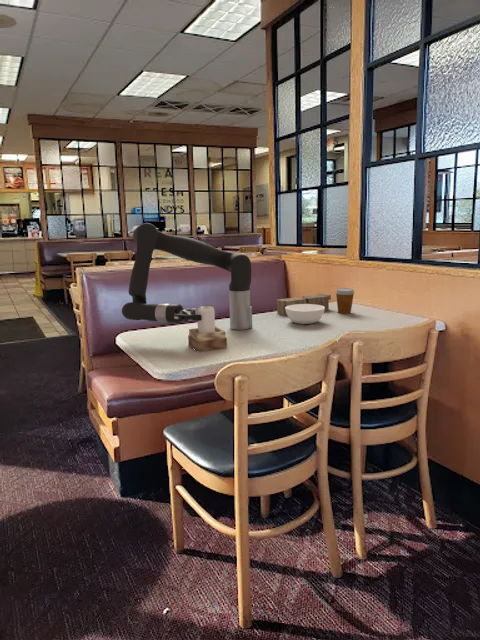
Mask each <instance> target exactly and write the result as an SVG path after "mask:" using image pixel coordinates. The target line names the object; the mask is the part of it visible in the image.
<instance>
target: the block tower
mask: <svg viewBox="0 0 480 640" xmlns="http://www.w3.org/2000/svg"><path fill="white" fill-rule="evenodd" d="M331 300H332V296H331V294H326V293H318V294H311V295H304V296H302V297H300V296H296V297H289V298H281V299H279V298H278V299H276V311H277V313H276V314H277V315H280V316H288V315H287V314H286V310H285V307H286V306H289V305H295V304H315V305H321V306H324V307H325V309H324V311H328V310H329V307H330V306H329V305H330V304H329V301H331Z"/></svg>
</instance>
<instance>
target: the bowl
mask: <svg viewBox="0 0 480 640" xmlns="http://www.w3.org/2000/svg"><path fill="white" fill-rule="evenodd" d="M324 309H325V307H324V306H321V305H315V304H295V305H289V306H286V307H285V310H286V314H287V315H286V316H287V318H288V319H289V320H290V322H292V323H294V324H297V325H298V324H299V325H310V324H311V325H312V324H314V323H317V322H319V321H320V320H321V319H322V317H323V315H324V313H325V310H324Z"/></svg>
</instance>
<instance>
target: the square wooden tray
mask: <svg viewBox="0 0 480 640" xmlns="http://www.w3.org/2000/svg"><path fill="white" fill-rule="evenodd" d="M188 333H189V335H190V336H191V337H192V338H194V339H195V340H197V341H206V340H214V339H222V338H227V337H226V331H225V330H223V329H221V328H220V327H217V326H216V325H215V332H213V333H204V334H199V333H198V327H195V328H189V329H188Z"/></svg>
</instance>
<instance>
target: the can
mask: <svg viewBox="0 0 480 640" xmlns="http://www.w3.org/2000/svg"><path fill="white" fill-rule="evenodd" d="M197 308H198V314H199V315H201V316H202V320H200V321H197V328H198V333H199V334H204V333H213V332H215V326H216V322H215V321H216V320H215V316H216V315H215V308H214V306H213V304H203V305H202V304H201V305H198V307H197Z"/></svg>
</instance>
